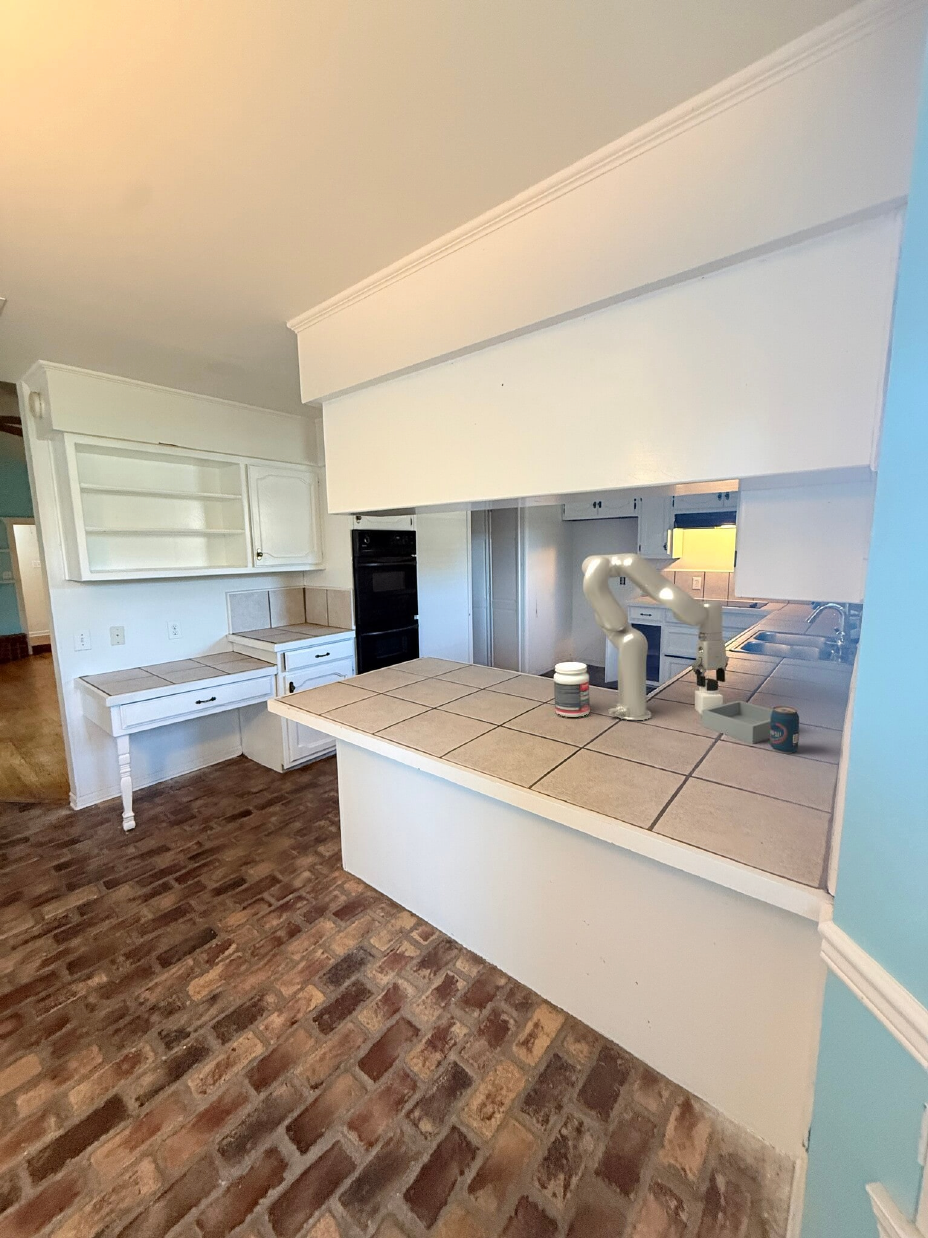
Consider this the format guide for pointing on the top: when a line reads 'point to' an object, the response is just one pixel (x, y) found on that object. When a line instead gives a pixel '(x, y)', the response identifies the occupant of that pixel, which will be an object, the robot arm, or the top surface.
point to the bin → (739, 721)
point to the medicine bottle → (708, 696)
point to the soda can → (784, 729)
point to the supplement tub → (571, 689)
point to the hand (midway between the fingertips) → (710, 683)
